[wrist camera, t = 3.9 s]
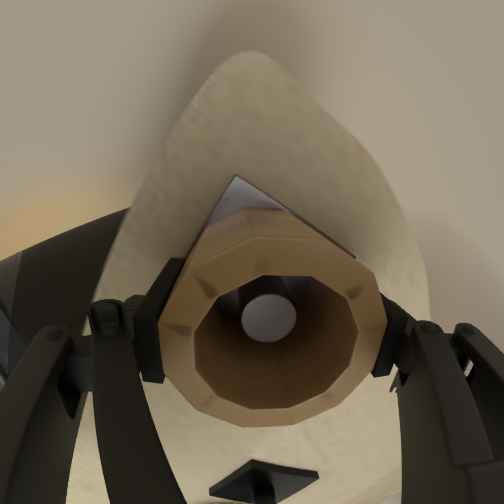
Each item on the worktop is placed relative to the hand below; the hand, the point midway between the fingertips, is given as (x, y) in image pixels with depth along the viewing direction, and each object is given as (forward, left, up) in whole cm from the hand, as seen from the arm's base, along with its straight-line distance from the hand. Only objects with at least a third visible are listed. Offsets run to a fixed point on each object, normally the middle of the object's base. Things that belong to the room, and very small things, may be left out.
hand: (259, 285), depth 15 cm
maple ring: (0, 0, -1) cm, 1 cm away
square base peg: (+15, -21, -2) cm, 26 cm away
